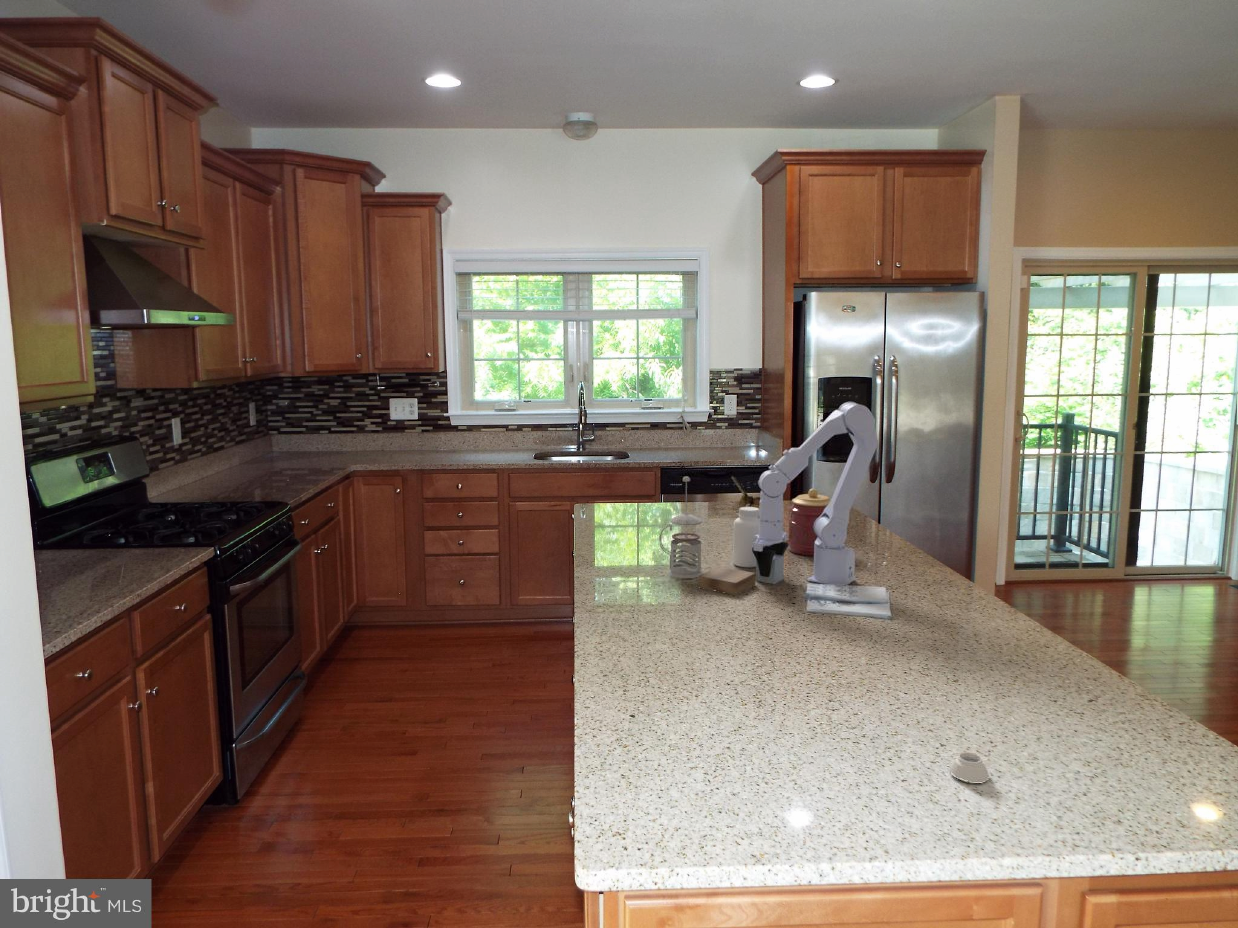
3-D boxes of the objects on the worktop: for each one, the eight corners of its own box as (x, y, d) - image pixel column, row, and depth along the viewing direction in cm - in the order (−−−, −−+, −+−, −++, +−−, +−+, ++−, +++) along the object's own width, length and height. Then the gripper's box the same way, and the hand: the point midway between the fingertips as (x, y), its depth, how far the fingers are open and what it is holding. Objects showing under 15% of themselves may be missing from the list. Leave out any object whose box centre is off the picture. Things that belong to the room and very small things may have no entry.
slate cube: (783, 579, 213) (783, 555, 212) (774, 584, 209) (775, 560, 208) (764, 575, 216) (765, 552, 215) (755, 580, 212) (756, 557, 211)
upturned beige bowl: (955, 764, 123) (944, 778, 119) (957, 744, 122) (945, 758, 118) (992, 775, 119) (982, 790, 116) (994, 755, 119) (983, 770, 115)
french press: (702, 579, 213) (704, 480, 209) (656, 577, 216) (656, 478, 212) (706, 568, 223) (708, 473, 219) (662, 566, 225) (662, 472, 221)
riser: (755, 584, 208) (755, 573, 208) (735, 595, 200) (735, 582, 200) (718, 578, 214) (718, 566, 214) (698, 588, 206) (698, 575, 206)
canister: (831, 545, 247) (833, 484, 244) (838, 557, 234) (840, 493, 231) (785, 544, 248) (787, 484, 245) (789, 556, 235) (791, 492, 233)
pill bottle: (762, 560, 231) (763, 505, 228) (764, 568, 223) (765, 512, 220) (732, 559, 231) (733, 505, 229) (733, 568, 224) (734, 511, 221)
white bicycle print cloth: (889, 594, 203) (889, 586, 202) (892, 622, 183) (892, 613, 183) (806, 588, 208) (806, 579, 207) (800, 615, 188) (801, 605, 188)
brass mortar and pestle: (728, 531, 264) (729, 473, 262) (772, 531, 265) (774, 473, 262) (732, 538, 256) (733, 478, 253) (778, 538, 256) (779, 478, 253)
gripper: (769, 512, 219) (767, 564, 221) (742, 523, 207) (741, 577, 209) (794, 516, 215) (793, 568, 217) (769, 526, 203) (768, 582, 205)
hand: (769, 573), depth 213 cm, fingers closed on slate cube, 5 cm apart
